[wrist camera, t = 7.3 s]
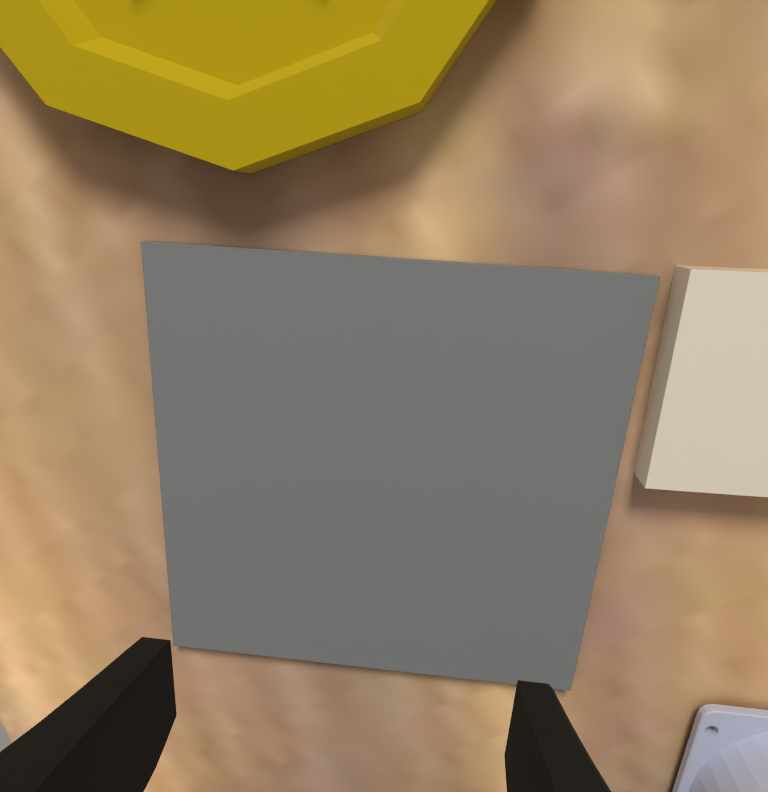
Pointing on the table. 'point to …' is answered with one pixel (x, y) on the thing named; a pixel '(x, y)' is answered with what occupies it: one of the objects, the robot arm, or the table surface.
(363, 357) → the mat
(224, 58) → the decorative disc
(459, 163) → the table surface
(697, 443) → the tile
